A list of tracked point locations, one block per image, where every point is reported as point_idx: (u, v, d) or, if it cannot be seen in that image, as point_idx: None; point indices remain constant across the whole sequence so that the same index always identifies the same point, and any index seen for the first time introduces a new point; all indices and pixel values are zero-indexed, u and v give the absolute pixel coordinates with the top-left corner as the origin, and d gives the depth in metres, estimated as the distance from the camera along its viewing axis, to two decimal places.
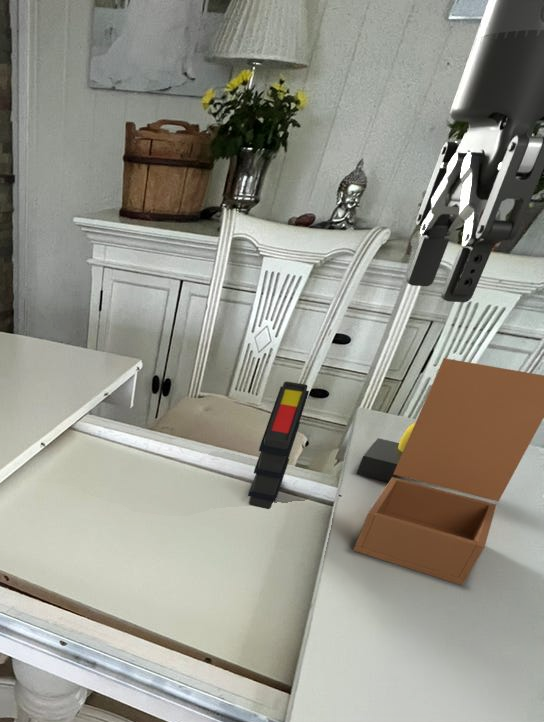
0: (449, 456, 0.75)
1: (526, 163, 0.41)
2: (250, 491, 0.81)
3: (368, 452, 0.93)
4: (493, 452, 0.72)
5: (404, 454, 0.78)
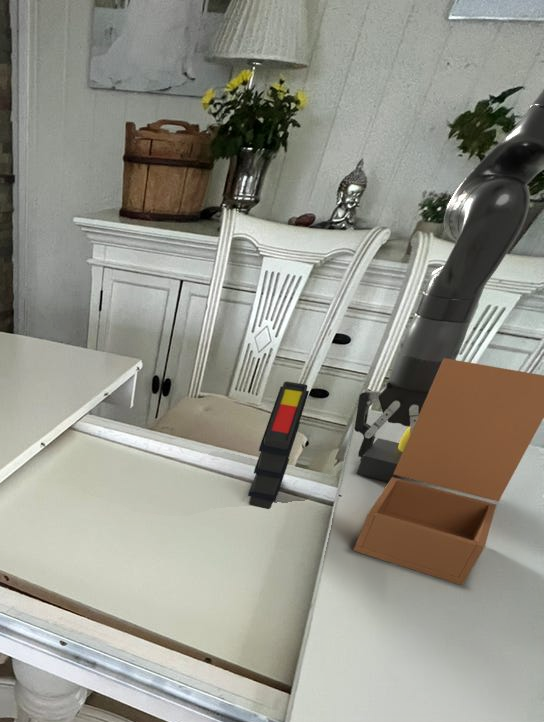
0: (449, 456, 0.75)
1: None
2: (250, 491, 0.81)
3: (368, 452, 0.93)
4: (493, 452, 0.72)
5: (404, 454, 0.78)
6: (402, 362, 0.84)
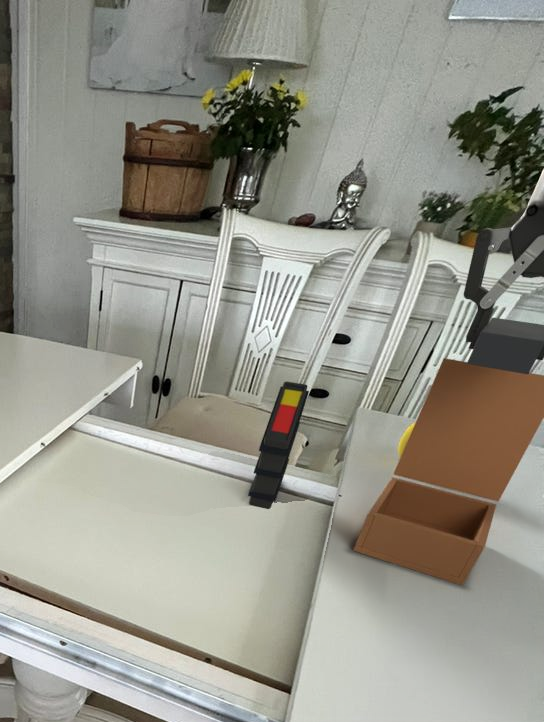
0: (449, 456, 0.75)
1: None
2: (250, 491, 0.81)
3: (487, 329, 0.59)
4: (493, 452, 0.72)
5: (404, 454, 0.78)
6: None
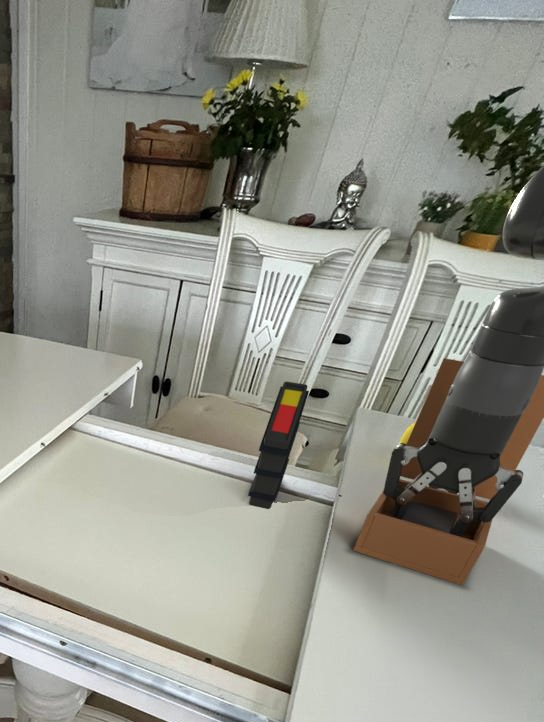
0: None
1: None
2: (250, 491, 0.81)
3: None
4: None
5: None
6: (451, 414, 0.64)
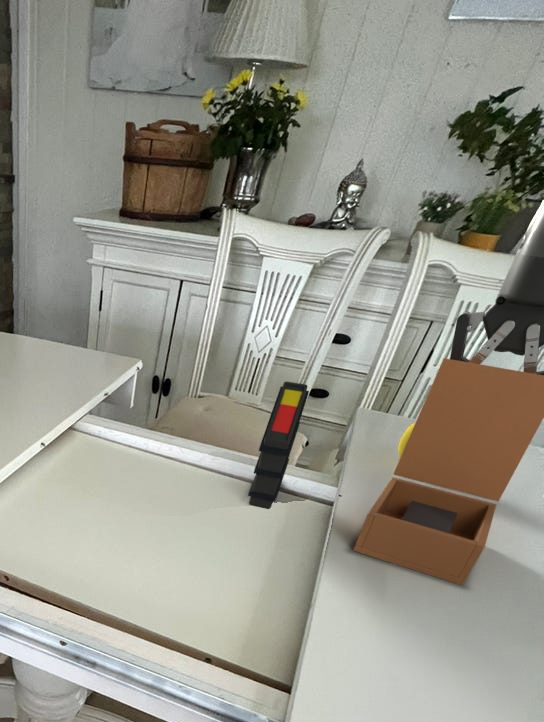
0: (449, 456, 0.75)
1: None
2: (250, 491, 0.81)
3: None
4: (493, 452, 0.72)
5: (404, 454, 0.78)
6: (523, 266, 0.65)
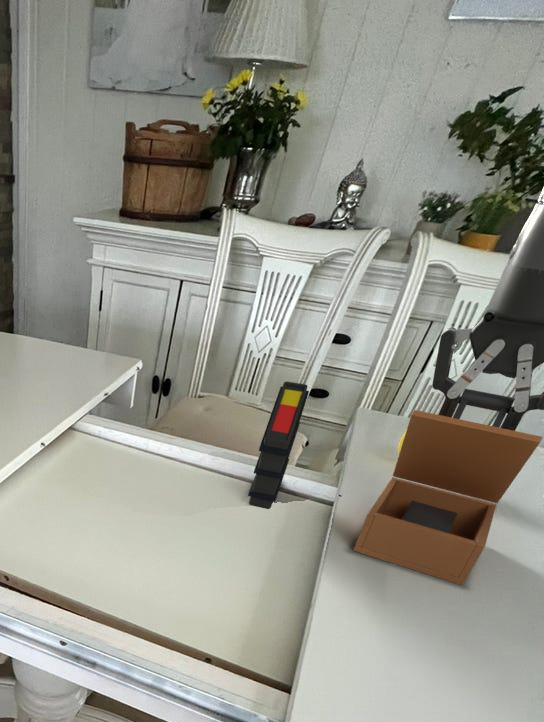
0: (440, 473, 0.74)
1: None
2: (250, 491, 0.81)
3: None
4: (482, 476, 0.70)
5: (398, 466, 0.77)
6: (514, 278, 0.57)
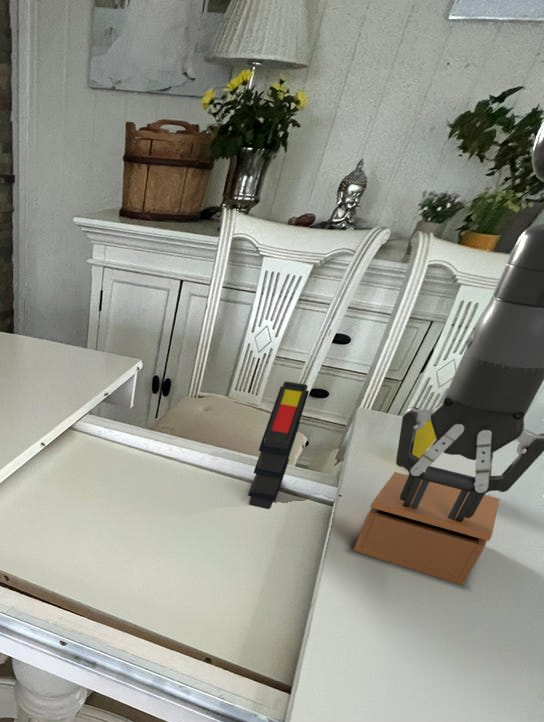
0: None
1: None
2: (250, 491, 0.81)
3: None
4: None
5: None
6: (471, 369, 0.57)
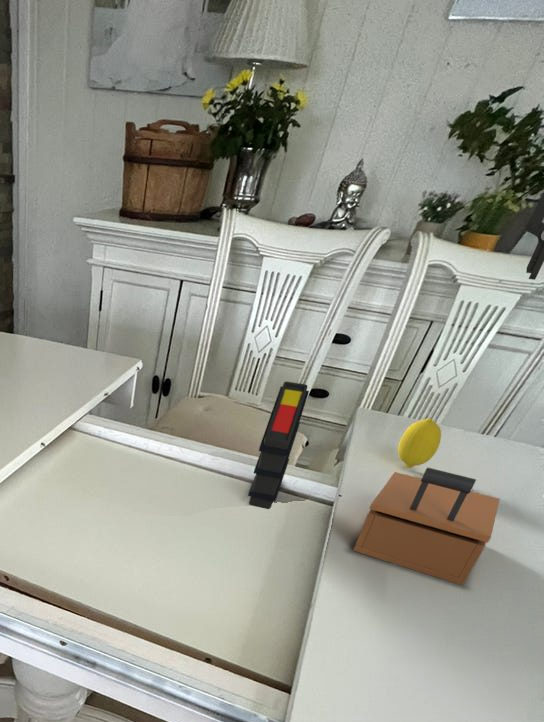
0: None
1: None
2: (250, 491, 0.81)
3: None
4: None
5: None
6: None
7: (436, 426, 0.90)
